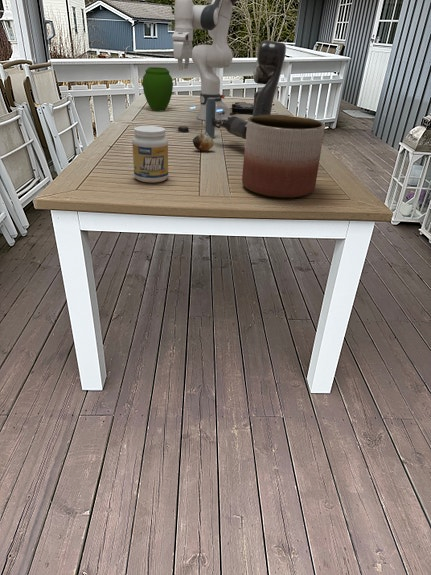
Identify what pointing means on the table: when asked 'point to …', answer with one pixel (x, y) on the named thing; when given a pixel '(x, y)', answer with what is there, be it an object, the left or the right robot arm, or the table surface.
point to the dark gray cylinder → (210, 116)
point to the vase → (157, 88)
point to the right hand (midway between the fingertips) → (220, 119)
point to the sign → (242, 108)
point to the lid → (183, 129)
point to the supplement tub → (150, 154)
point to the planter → (282, 155)
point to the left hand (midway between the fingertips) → (183, 69)
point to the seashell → (203, 142)
